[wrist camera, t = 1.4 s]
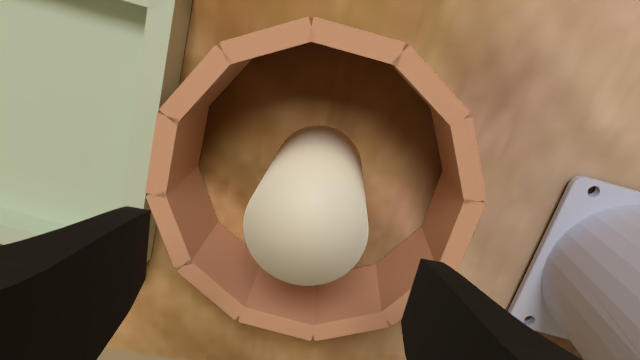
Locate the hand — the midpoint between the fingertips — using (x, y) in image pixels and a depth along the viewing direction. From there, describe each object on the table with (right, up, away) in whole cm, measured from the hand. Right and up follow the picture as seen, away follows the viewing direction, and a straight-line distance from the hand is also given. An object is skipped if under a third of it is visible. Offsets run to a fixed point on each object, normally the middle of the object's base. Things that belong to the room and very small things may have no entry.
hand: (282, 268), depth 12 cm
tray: (-12, +6, +9) cm, 16 cm away
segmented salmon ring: (+1, +3, +9) cm, 10 cm away
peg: (+1, +3, +9) cm, 10 cm away
